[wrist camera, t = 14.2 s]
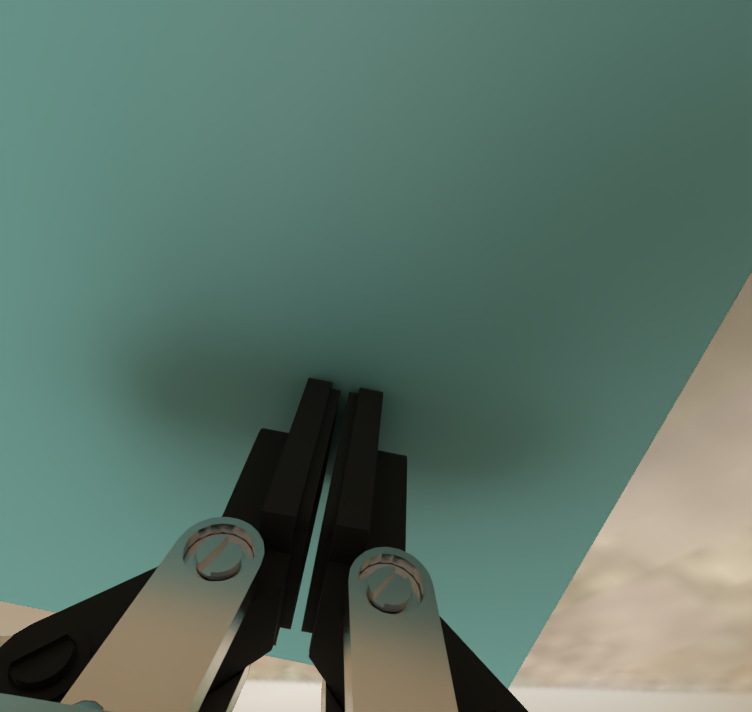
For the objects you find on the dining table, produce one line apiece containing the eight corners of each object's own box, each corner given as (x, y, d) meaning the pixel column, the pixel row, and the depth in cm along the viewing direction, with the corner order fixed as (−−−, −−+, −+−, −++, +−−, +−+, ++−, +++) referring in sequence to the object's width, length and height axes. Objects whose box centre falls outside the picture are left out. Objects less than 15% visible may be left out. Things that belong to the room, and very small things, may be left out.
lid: (857, 9, 8) (909, 0, 7) (495, 671, 17) (499, 703, 16) (-164, -221, 8) (-239, -259, 7) (20, 573, 17) (-2, 600, 16)
